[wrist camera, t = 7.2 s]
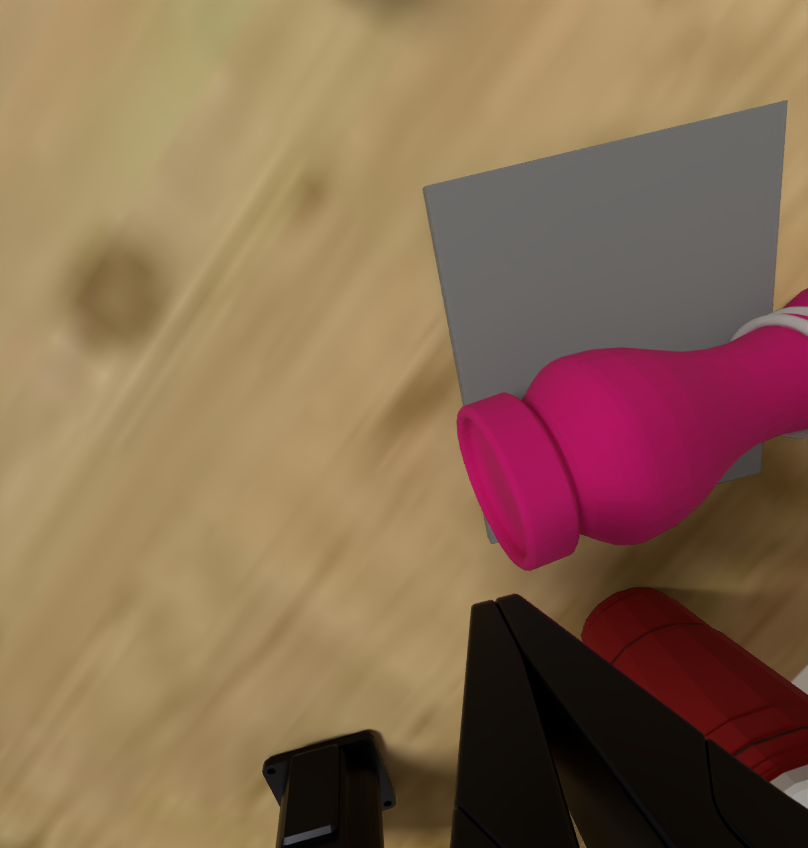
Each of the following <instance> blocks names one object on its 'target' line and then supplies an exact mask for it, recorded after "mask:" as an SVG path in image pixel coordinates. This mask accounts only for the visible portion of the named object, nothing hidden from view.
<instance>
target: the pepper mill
mask: <svg viewBox="0 0 808 848" xmlns="http://www.w3.org/2000/svg"><path fill="white" fill-rule="evenodd" d="M457 435H458V440H459V445H460V450H461V453H462V457H463V461H464V464H465V467H466V470H467V473H468V476H469V479H470V482H471V485H472V487H473V490H474V492H475V495H476V498H477V500H478V502H479V504H480V507H481V509H482V511H483V513H484V516H485V518H486V520H487V522H488V524H489V526H490V528H491V529H492V531H493V533H494V535H495V537H496V539H497V540H498V542H499V544H500V545H501V547H502V549H503V550H504V551H505V553H506V554H507V555H508V557H509V558H510V559H511V560H512V561H513V562H514V563H515V564H516V565H517V566H518V567H520V568H521V569H523V570H529V571H531V570H533V569H536V568H538V567H541V566H543V565H546V564H549V563H551V562H554V561H556V560H559V559H561V558H564V557H566V556H569V555H571V554H572V553H573V552H574V551H575V549H576V546H577V544H578V540H579V534H582V535H585V536H588V537H591V538H593V539H596V540H599V541H603V542H607V543H611V544H615V545H634V544H638V543H643V542H646V541H648V540H650V539H651V538H653V537H655V536H657V535H659V534H661V533H663V532H665V531H667V530H669V529H670V528H672V527H674V526H676V525H678V524H679V523H680V522H681V521H682V520H683V519H684V518H686V517H687V516H688V515H689V514H690V513H691V512H692V511H694V510H695V509H696V508H697V507H698V506H699V505H700V504H701V503H702V502H703V501H704V500H705V499H706V497H707V496H708V495H709V493H710V492H711V491H712V490H713V488H714V487H715V486H716V484H717V483H718V482H719V480H720V479H721V478H722V477H723V475H724V474H725V473H726V472H727V471H728V470H729V468H730V467H731V466H732V465H733V464H734V463H735V462H736V461H737V460H738V459H739V458H740V457H741V456H742V455H743V454H745V453H746V452H747V451H749V450H750V449H751V448H753V447H754V446H755V445H758V444H760V443H762V442H764V441H767V440H769V439H771V438H773V437H776V436H779V435H782V436H786V437H790V438H800V439H804V438H808V288H807V289H806V290H804V291H802V292H800V293H799V294H798V295H797V296H796V297H795V298H794V299H792V300H791V301H790V302H789V303H788V304H787V305H786V306H785V307H784V308H783V309H780V310H777V311H774V312H772V313H770V314H768V315H766V316H761V317H758V318H755V319H753V320H751V321H749V322H747V323H746V324H744V325H743V326H742V327H740V328H739V329H738V330H737V332H736V333H735V334H734V335H733V337H732V338H731V340H730V342H729V343H726V344H722V345H719V346H716V347H712V348H709V349H703V350H694V351H685V352H681V351H665V350H652V349H639V348H627V347H618V348H603V349H592V350H586V351H583V352H579V353H575V354H571V355H567V356H563V357H560V358H558V359H556V360H554V361H552V362H550V363H549V364H547V365H546V366H545V367H544V368H543V369H541V370H540V372H539V373H538V374H537V376H536V377H535V378H534V380H533V381H532V383H531V384H530V386H529V388H528V390H527V392H526V393H525V395H524V397H523V399H522V400H520V399H519V398H517V397H516V396H514V395H511V394H509V393H506V392H502V393H499V394H496V395H494V396H491V397H488V398H485V399H482V400H479V401H477V402H474V403H471V404H468V405H465V406H463V407H462V408H461V409H460V411H459V412H458V415H457Z"/></svg>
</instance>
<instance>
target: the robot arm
mask: <svg viewBox="0 0 808 848" xmlns="http://www.w3.org/2000/svg"><path fill="white" fill-rule="evenodd" d="M262 772H263V775H264V777H265V779H266V781H267V783H268V785H269V787H270V789H271V790H272V792H273V794H274V796H275V798H276V800H277V802H278V804H279V806H280V815H279V823H278V831H277V840H276V848H384V837H383V821H382V811H383V810H387V809H390V808H392V807H394V806H395V804H396V800H395V793H394V790H393V788H392V785H391V782H390V779H389V777H388V774H387V771H386V769H385V766H384V763H383V760H382V758H381V755H380V752H379V750H378V747H377V744H376V741H375V739H374V736H373V735H372V734H371V733H368V732H364V733H360V734H356V735H353V736H349V737H346V738H342V739H338V740H335V741H331V742H328V743H324V744H320V745H317V746H313V747H310V748H306V749H302V750H299V751H295V752H291V753H288V754H284V755H281V756H277V757H273V758H270V759H267V760H266V761H265V762H264V764H263V770H262ZM454 805H455V809H454V810H453V819H452V830H451V842H450V848H580V847H579V843H578V840H577V837H576V833H575V830H574V827H573V823H572V820H571V817H570V813H571V815H572V818H573V820H574V822H575V824H576V826H577V828H578V830H579V832H580V835H581V837H582V839H583V841H584V843H585V845H586V847H587V848H808V808H806V807H805V806H803V805H802V804H800V803H799V802H797V801H796V800H794V799H793V798H791V797H790V796H788V795H787V794H785V793H784V792H783V791H781V790H780V789H778V788H777V787H776V786H774V785H773V784H772V783H770V782H769V781H767V780H766V779H765V778H763V777H762V776H760V775H759V774H758V773H756V772H755V771H754V770H752V769H751V768H749V767H748V766H747V765H745V764H744V763H742V762H741V761H740V760H738V759H737V758H736V757H734V756H733V755H732V754H730V753H729V752H728V751H726V750H725V749H724V748H722V747H721V746H720V745H719V744H717V743H716V742H715V741H713V740H712V739H707V740H706V738H705V735H704V734H703V733H702V732H701V731H700V730H698V729H697V728H696V727H694V726H693V725H692V724H690V723H689V722H688V721H686V720H685V719H684V718H682V717H681V716H680V715H678V714H677V713H676V712H674V711H673V710H672V709H670V708H669V707H668V706H666V705H665V704H664V703H662V702H661V701H660V700H658V699H657V698H656V697H654V696H653V695H652V694H650V693H649V692H648V691H646V690H645V689H644V688H642V687H641V686H640V685H638V684H637V683H636V682H635V681H633V680H632V679H631V678H629V677H628V676H627V675H625V674H624V673H623V672H621V671H620V670H619V669H617V668H616V667H615V666H613V665H612V664H611V663H609V662H608V661H607V660H605V659H604V658H603V657H601V656H600V655H599V654H597V653H596V652H595V651H593V650H592V649H591V648H589V647H588V646H587V645H585V644H584V643H583V642H581V641H580V640H579V639H577V638H576V637H575V636H573V635H572V634H571V633H569V632H568V631H567V630H565V629H564V628H563V627H561V626H560V625H559V624H557V623H556V622H555V621H553V620H552V619H551V618H549V617H548V616H547V615H546V614H544V613H543V612H542V611H540V610H539V609H538V608H536V607H535V606H534V605H532V604H531V603H530V602H528V601H527V600H526V599H524V598H523V597H522V596H520V595H518V594H511V595H507V596H503V597H499V598H497V599H496V601H495V602H494V601H493V600H488V601H484V602H480V603H476V604H473V605H472V607H471V616H470V627H469V639H468V650H467V662H466V673H465V685H464V696H463V708H462V719H461V731H460V743H459V754H458V766H457V777H456V789H455V800H454ZM568 809H569V810H568ZM569 811H570V813H569Z"/></svg>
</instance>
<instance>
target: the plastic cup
mask: <svg viewBox="0 0 808 848" xmlns="http://www.w3.org/2000/svg"><path fill="white" fill-rule="evenodd" d="M581 636H582V642H583V643H584V644H585V645H587V646H588V647H589V648H591V649H592V650H593V651H595V652H596V653H597V654H599V655H600V656H601V657H603V658H604V659H605V660H607V661H608V662H609V663H611V664H612V665H613V666H615V667H616V668H617V669H619V670H620V671H621V672H623V673H624V674H625V675H627V676H628V677H629V678H631V679H632V680H633V681H635V682H636V683H637V684H638V685H640V686H641V687H642V688H644V689H645V690H646V691H648V692H649V693H650V694H652V695H653V696H654V697H656V698H657V699H658V700H660V701H661V702H662V703H664V704H665V705H666V706H668V707H669V708H670V709H672V710H673V711H674V712H676V713H677V714H678V715H680V716H681V717H682V718H684V719H685V720H686V721H688V722H689V723H690V724H692V725H693V726H694V727H696V728H697V729H698V730H700V731H701V732H702V733H703V734H704V735H705V738H706V740H707V739H712V740H713V741H715V742H716V743H717V744H719V745H720V746H721V747H722V748H724V749H725V750H726V751H728V752H729V753H730V754H732V755H733V756H734V757H736V758H737V759H738V760H740V761H741V762H742V763H744V764H745V765H747V766H748V767H749V768H751V769H752V770H754V771H755V772H756V773H758V774H759V775H760V776H762V777H763V778H765V779H766V780H767V781H769V782H770V783H772V784H773V785H774V786H776V787H777V788H778V789H780V790H781V791H783V792H784V793H785V794H787V795H788V796H790V797H791V798H793V799H794V800H796V801H797V802H799V803H800V804H802V805H803V806H805V807H806V808H808V695H807V694H806V693H804V692H803V691H802V690H800V689H799V688H798V687H796V686H795V685H793V684H792V683H791V682H789V681H788V680H787V679H785V678H784V677H782V676H781V675H780V674H778V673H777V672H775V671H774V670H773V669H771V668H770V667H769V666H767V665H766V664H764V663H763V662H762V661H760V660H759V659H758V658H756V657H755V656H753V655H752V654H751V653H749V652H748V651H747V650H745V649H744V648H742V647H741V646H740V645H738V644H737V643H735V642H734V641H733V640H731V639H730V638H729V637H727V636H726V635H724V634H723V633H722V632H720V631H717V630H715V629H713V628H712V627H710V626H709V625H708V624H706V623H705V622H704V621H702V620H701V619H700V618H699V617H697V616H696V615H695V614H693V613H692V612H691V611H689V610H688V609H687V608H685V607H684V606H683V605H681V604H680V603H679V602H678V601H676V600H674V599H672V598H669V597H668V596H666V595H665V594H663V593H660V592H658V591H656V590H654V589H652V588H632V589H629V590H626V591H623V592H619V593H616V594H614V595H612V596H611V597H609V598H608V599H606V600H605V601H603V602H602V603H600V604H599V605H598V606H597V607H596V608H595V609H594V611H593V612H592V613H591V614H590V616H589V617H588V618H587V619H586V622H585V625H584V628H583V631H582V635H581Z"/></svg>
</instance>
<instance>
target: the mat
mask: <svg viewBox="0 0 808 848" xmlns="http://www.w3.org/2000/svg"><path fill="white" fill-rule="evenodd" d="M787 102H788V100H786V101H782V102H778V103H774V104H769V105H765V106H761V107H757V108H752V109H748V110H744V111H740V112H736V113H731V114H727V115H723V116H719V117H715V118H710V119H706V120H702V121H698V122H694V123H689V124H685V125H681V126H677V127H673V128H668V129H664V130H660V131H656V132H652V133H647V134H643V135H639V136H635V137H630V138H626V139H622V140H618V141H614V142H609V143H605V144H601V145H597V146H593V147H588V148H584V149H580V150H576V151H572V152H567V153H563V154H559V155H555V156H551V157H546V158H542V159H538V160H534V161H529V162H525V163H521V164H517V165H513V166H508V167H504V168H500V169H496V170H492V171H487V172H483V173H479V174H475V175H471V176H466V177H462V178H458V179H454V180H450V181H445V182H441V183H437V184H433V185H429V186H425V187H424V188H423V193H424V199H425V204H426V209H427V215H428V220H429V225H430V231H431V236H432V241H433V247H434V252H435V257H436V263H437V268H438V273H439V279H440V284H441V289H442V295H443V300H444V306H445V311H446V316H447V322H448V327H449V332H450V338H451V343H452V348H453V354H454V359H455V364H456V370H457V375H458V380H459V386H460V391H461V396H462V402H463V406H465V405H468V404H471V403H474V402H477V401H479V400H482V399H485V398H488V397H491V396H494V395H496V394H499V393H502V392H506V393H509V394H511V395H514V396H516V397H517V398H519V399H520V400H522V399H523V397H524V395H525V393H526V392H527V390H528V388H529V386H530V384H531V383H532V381H533V380H534V378H535V377H536V376H537V374H538V373H539V372H540V370H541V369H543V368H544V367H545V366H546V365H547V364H549V363H550V362H552V361H554V360H556V359H558V358H560V357H563V356H567V355H571V354H575V353H579V352H583V351H586V350H592V349H603V348H618V347H627V348H639V349H652V350H665V351H681V352H685V351H694V350H703V349H709V348H712V347H716V346H719V345H722V344H726V343H729V342H730V340H731V338H732V337H733V335H734V334H735V333H736V332H737V330H738V329H739V328H740V327H742V326H743V325H744V324H746V323H747V322H749V321H751V320H753V319H755V318H758V317H761V316H766V315H768V314H770V313H772V311H773V297H774V283H775V269H776V255H777V241H778V227H779V213H780V199H781V185H782V172H783V158H784V144H785V130H786V116H787ZM762 450H763V442H762V443H760V444H758V445H755V446H754V447H753V448H751V449H750V450H749V451H747V452H746V453H745V454H743V455H742V456H741V457H740V458H739V459H738V460H737V461H736V462H735V463H734V464H733V465H732V466H731V467H730V468H729V470H728V471H727V472H726V473H725V474H724V475H723V477H722V478H721V479H720V480H719V482H718V483H717V484H720V483H723V482H727V481H731V480H735V479H738V478H742V477H746V476H750V475H754V474H757V473H761V464H762ZM483 514H484V513H483ZM484 519H485V525H486V530H487V535H488V538H489V540H490V542H491V544H494V543H498V540H497V539H496V537H495V535H494V533H493V531H492V529H491V528H490V526H489V524H488V522H487V520H486V518H485V516H484Z"/></svg>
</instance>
